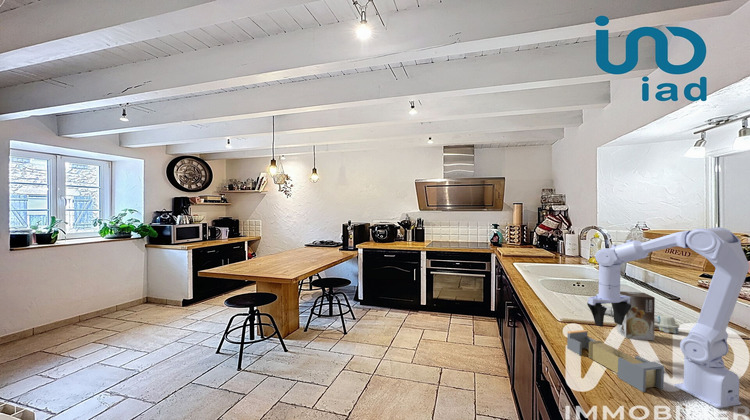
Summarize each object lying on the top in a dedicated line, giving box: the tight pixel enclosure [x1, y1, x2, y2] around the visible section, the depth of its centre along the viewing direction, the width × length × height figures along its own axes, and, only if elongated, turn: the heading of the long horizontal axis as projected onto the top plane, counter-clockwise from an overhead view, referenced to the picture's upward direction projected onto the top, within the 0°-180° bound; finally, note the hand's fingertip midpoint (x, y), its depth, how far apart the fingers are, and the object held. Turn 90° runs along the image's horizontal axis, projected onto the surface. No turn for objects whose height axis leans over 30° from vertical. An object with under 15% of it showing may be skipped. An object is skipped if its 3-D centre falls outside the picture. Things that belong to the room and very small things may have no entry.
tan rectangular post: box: [588, 340, 656, 389], centre depth 92 cm, size 17×4×5 cm, turn 11°
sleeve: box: [617, 355, 665, 393], centre depth 86 cm, size 7×7×6 cm
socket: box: [566, 329, 597, 356], centre depth 105 cm, size 5×7×6 cm
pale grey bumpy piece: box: [602, 305, 680, 334], centre depth 129 cm, size 5×7×25 cm
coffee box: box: [616, 290, 656, 341], centre depth 116 cm, size 9×6×16 cm
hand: (608, 324), depth 102 cm, fingers open, 7 cm apart
